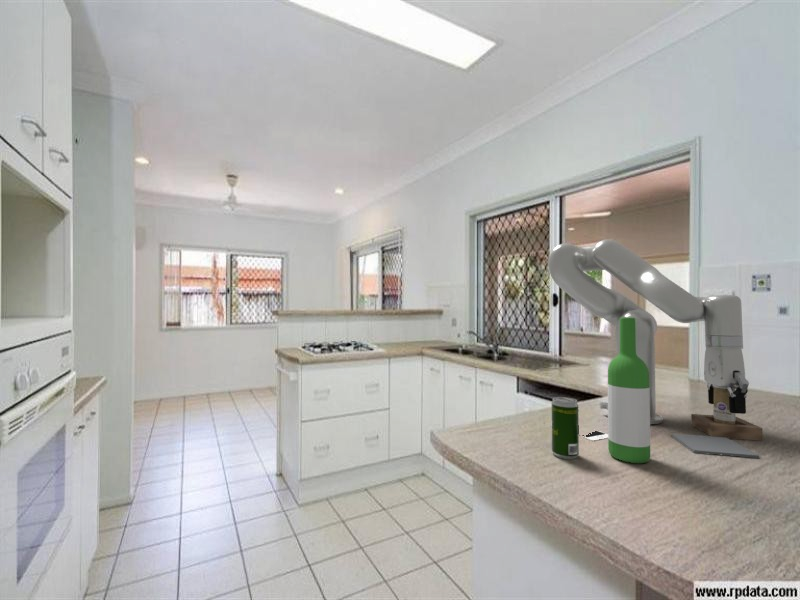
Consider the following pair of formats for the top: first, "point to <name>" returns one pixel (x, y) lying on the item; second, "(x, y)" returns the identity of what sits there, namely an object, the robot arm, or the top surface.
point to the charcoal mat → (713, 445)
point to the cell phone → (596, 435)
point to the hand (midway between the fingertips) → (726, 408)
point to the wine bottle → (628, 400)
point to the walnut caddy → (727, 428)
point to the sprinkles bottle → (722, 406)
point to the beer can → (565, 428)
